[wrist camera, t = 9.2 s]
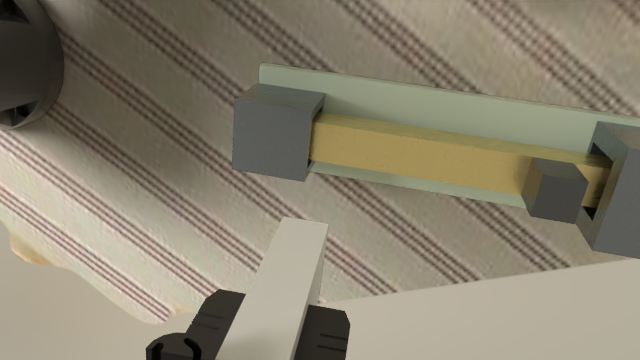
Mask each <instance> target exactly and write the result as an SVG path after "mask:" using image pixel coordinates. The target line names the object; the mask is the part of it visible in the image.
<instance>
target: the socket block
mask: <svg viewBox="0 0 640 360" xmlns="http://www.w3.org/2000/svg"><path fill="white" fill-rule="evenodd" d="M587 154H594V155H600V156H607V157H609V158H610V159H611V160H612V161H613V162H614V163H613V166H612V169H611V172H610V174H609V177H608V180H607V183H606V186H605V188H604V191H603V194H602V197H601V199H600V202H599V205H598V208H593V207H587V206H581V207H580V210H579V213H578V216H577V219H576V222H575V223H576V225H577V226H578V228H579V230H580V231H581V233H582V234H583V236H584V238H585V239H586V241H587V243H588V244H589V246H590V248H591V249H592V250H593V251H598V252H604V253H609V254H615V255H621V256H626V257H632V258H637V259H640V127H637V126H630V125H624V124H617V123H610V122H603V121H597V124H596V127H595V130H594V132H593V135H592V138H591V141H590V144H589V147H588V150H587Z"/></svg>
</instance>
